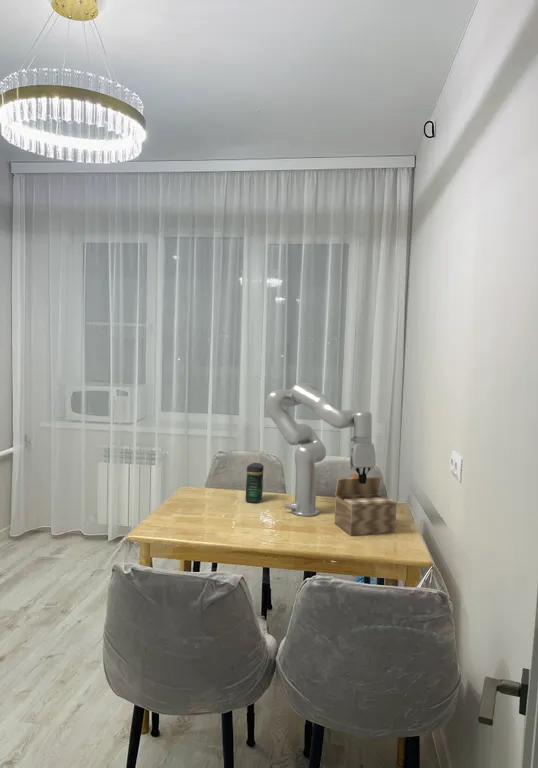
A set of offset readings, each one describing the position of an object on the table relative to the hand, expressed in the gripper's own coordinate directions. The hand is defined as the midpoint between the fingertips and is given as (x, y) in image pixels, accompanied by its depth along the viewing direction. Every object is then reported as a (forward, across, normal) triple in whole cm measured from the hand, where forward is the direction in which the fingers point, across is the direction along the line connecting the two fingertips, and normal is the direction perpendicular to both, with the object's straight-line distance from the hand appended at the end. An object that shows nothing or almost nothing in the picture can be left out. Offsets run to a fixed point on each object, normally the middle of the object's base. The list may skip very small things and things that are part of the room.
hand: (362, 483), depth 223 cm
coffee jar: (+16, -37, +44) cm, 60 cm away
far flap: (+2, -1, +3) cm, 3 cm away
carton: (+18, -1, -4) cm, 19 cm away
